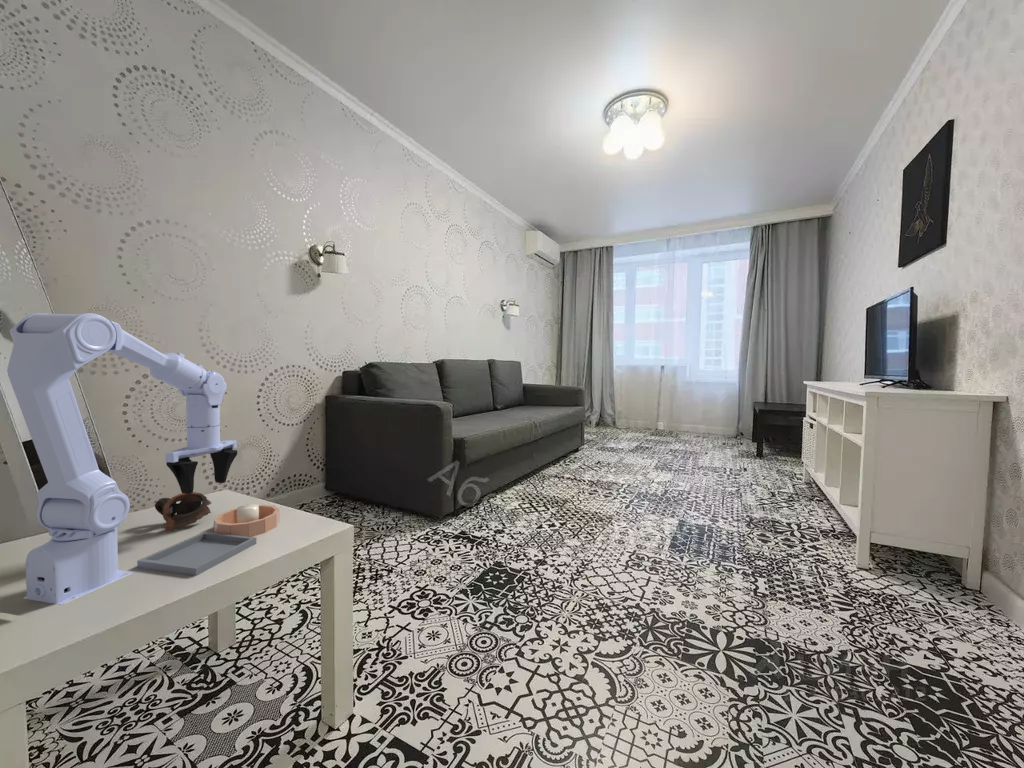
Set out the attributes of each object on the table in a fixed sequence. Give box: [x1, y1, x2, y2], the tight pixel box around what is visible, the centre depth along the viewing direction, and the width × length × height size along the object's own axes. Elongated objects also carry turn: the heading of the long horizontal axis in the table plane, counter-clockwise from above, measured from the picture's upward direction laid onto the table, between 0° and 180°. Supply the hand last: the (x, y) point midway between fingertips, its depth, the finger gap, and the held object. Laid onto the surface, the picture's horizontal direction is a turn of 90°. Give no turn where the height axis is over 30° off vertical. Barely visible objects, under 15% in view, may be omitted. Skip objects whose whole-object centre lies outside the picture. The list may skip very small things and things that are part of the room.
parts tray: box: [136, 531, 257, 577], centre depth 74 cm, size 12×12×2 cm
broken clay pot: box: [154, 491, 212, 532], centre depth 88 cm, size 12×10×8 cm
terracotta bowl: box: [213, 504, 281, 537], centre depth 86 cm, size 12×12×4 cm
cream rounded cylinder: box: [237, 503, 260, 523], centre depth 86 cm, size 4×4×4 cm
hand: (204, 487), depth 86 cm, fingers open, 7 cm apart
